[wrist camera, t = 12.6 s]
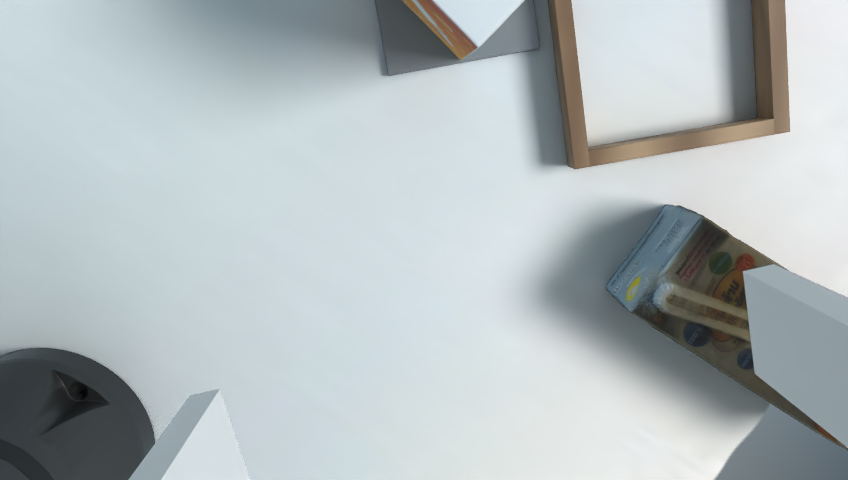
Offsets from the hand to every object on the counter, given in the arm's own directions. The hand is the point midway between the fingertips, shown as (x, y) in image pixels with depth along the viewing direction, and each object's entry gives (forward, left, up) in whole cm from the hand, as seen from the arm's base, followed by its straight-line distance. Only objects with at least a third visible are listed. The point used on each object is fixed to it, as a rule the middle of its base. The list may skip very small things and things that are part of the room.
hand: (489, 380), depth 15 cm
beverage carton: (+19, -12, -29) cm, 37 cm away
